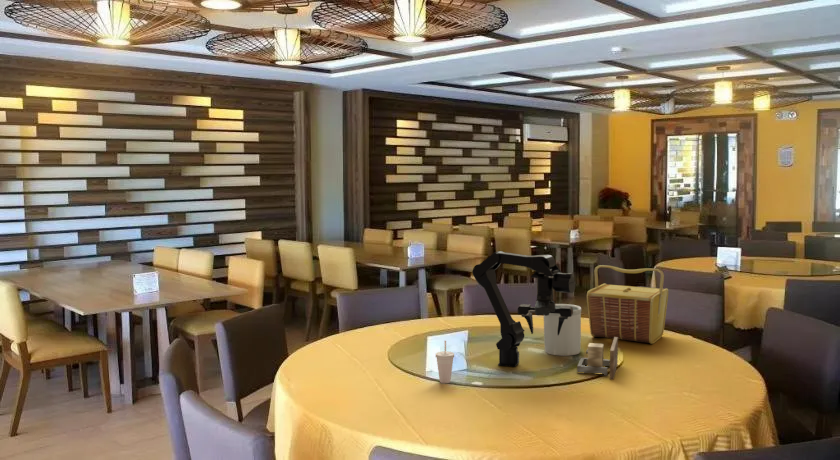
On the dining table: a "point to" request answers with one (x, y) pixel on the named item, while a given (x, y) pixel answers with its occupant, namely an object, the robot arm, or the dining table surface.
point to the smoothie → (445, 365)
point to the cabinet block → (595, 354)
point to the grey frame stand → (611, 362)
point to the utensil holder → (563, 333)
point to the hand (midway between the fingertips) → (545, 334)
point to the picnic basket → (627, 309)
